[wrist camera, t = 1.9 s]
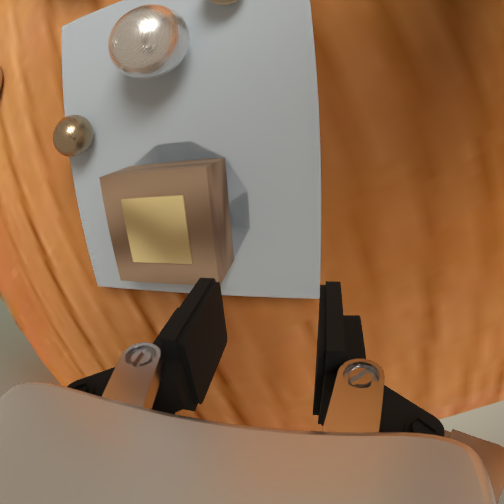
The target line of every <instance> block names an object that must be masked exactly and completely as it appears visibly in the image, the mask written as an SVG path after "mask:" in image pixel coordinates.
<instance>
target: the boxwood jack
mask: <svg viewBox="0 0 504 504" xmlns="http://www.w3.org/2000/svg"><path fill="white" fill-rule="evenodd" d="M210 1H211V2H213V3H216V4H221V5H226V4H231V3H234V2H236V1H237V0H210Z"/></svg>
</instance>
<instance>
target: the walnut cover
mask: <svg viewBox="0 0 504 504" xmlns="http://www.w3.org/2000/svg"><path fill="white" fill-rule="evenodd" d="M99 179H100V185H101V191H102V197H103V202H104V208H105V213H106V218H107V223H108V228H109V233H110V237H111V242H112V246H113V251H114V255H115V259H116V263H117V267H118V271H119V275H120V279H121V281H135V282H150V283H166V284H184V285H195V284H196V283H197V281H198V280H199V278H214V279H215V280H216V282H219V283H220V285H221V283H222V281H223V279H224V277H225V276H226V274H227V272H228V270H229V268H230V267H231V265H232V263H233V261H234V253H233V242H232V232H231V221H230V210H229V198H228V187H227V175H226V163H225V158H210V159H196V160H184V161H173V162H163V163H153V164H144V165H136V166H129V167H126V168H123V169H120V170H118V171H115V172H112V173H110V174H107V175H104V176H102V177H99Z"/></svg>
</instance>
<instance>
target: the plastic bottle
mask: <svg viewBox="0 0 504 504" xmlns="http://www.w3.org/2000/svg"><path fill="white" fill-rule="evenodd" d="M1 86H2V70H1V67H0V89H1Z"/></svg>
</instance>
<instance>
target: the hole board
mask: <svg viewBox="0 0 504 504" xmlns="http://www.w3.org/2000/svg"><path fill="white" fill-rule="evenodd" d="M150 4H157V5H163V6H166V7H169V8H171V9H173V10H175V11H176V12H177V13H179V14H180V15H181V16H182V17H183V19H184V20H185V22H186V24H187V26H188V29H189V35H190V42H189V47H188V50H187V53H186V55H185V57H184V58H183V60H182V61H181V63H180V64H179V65H178V66H177V67H176V68H175V69H173V70H172V71H171V72H169V73H167V74H165V75H163V76H161V77H158V78H154V79H148V80H141V79H135V78H131V77H129V76H126V75H124V74H123V73H121V72H120V71H119V70H118V69H117V68H116V67H115V66H114V65H113V63H112V61H111V59H110V56H109V52H108V39H109V35H110V33H111V30H112V28H113V27H114V25H115V23H116V22H117V21H118V20H119V19H120V18H121V17H122V16H123V15H124V14H126V13H127V12H129V11H130V10H132V9H134V8H137V7H139V6H143V5H150ZM62 78H63V96H64V109H65V117H67V116H69V115H81V116H83V117H85V118H86V119H88V121H89V122H90V123H91V125H92V128H93V139H92V142H91V144H90V146H89V148H88V149H87V150H86V151H85V152H84V153H82V154H80V155H78V156H74V157H70V161H71V167H72V174H73V180H74V186H75V191H76V196H77V202H78V207H79V212H80V216H81V221H82V226H83V230H84V234H85V239H86V243H87V247H88V251H89V255H90V259H91V262H92V266H93V270H94V274H95V277H96V281H97V284H98V286H103V287H114V288H125V289H138V290H151V291H164V292H179V293H190V291H191V290H192V289H193V287H194V286H195V285H184V284H166V283H150V282H135V281H121V279H120V275H119V271H118V267H117V263H116V259H115V255H114V251H113V246H112V242H111V237H110V233H109V228H108V223H107V218H106V213H105V208H104V202H103V197H102V191H101V185H100V179H99V177H102V176H104V175H107V174H110V173H112V172H115V171H118V170H120V169H123V168H126V167H129V166H136V165H144V164H153V163H163V162H173V161H184V160H196V159H210V158H225V163H226V175H227V187H228V198H229V210H230V221H231V232H232V242H233V253H234V261H233V263H232V265H231V267H230V268H229V270H228V272H227V274H226V276H225V277H224V279H223V281H222V283H221V285H220V286H221V294H222V295H230V296H252V297H277V298H310V299H319V295H320V265H321V154H320V125H319V104H318V87H317V72H316V59H315V47H314V35H313V25H312V15H311V6H310V0H237V1H236V2H234V3H231V4H226V5H221V4H216V3H213V2H211V1H210V0H123V1H120V2H118V3H115V4H112V5H110V6H107V7H105V8H102V9H100V10H97V11H95V12H93V13H90V14H88V15H86V16H83V17H81V18H79V19H77V20H75V21H72V22H70V23H68V24H66V25H64V26H62Z"/></svg>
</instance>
